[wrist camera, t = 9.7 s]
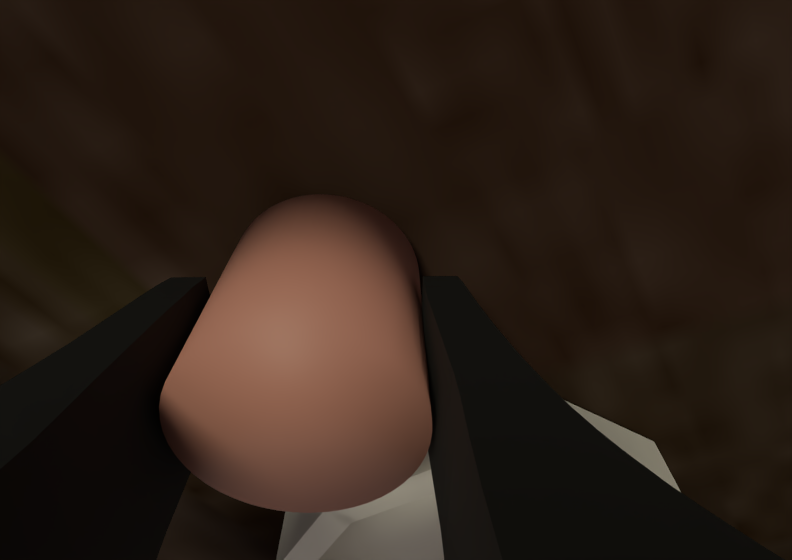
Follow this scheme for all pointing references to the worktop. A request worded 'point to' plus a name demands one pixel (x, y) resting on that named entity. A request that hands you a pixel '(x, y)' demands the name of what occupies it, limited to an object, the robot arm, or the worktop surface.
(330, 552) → the dish
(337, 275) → the brownish pink rounded piece
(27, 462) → the robot arm
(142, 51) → the worktop surface
